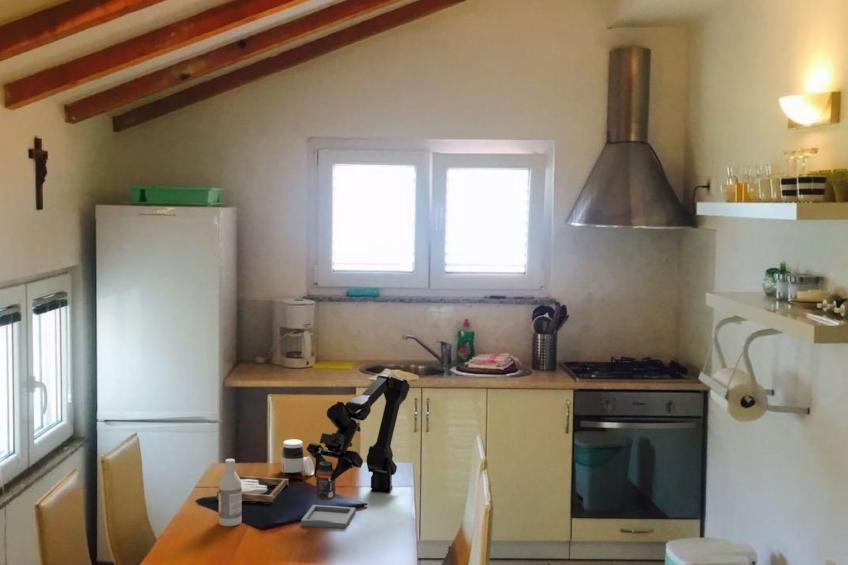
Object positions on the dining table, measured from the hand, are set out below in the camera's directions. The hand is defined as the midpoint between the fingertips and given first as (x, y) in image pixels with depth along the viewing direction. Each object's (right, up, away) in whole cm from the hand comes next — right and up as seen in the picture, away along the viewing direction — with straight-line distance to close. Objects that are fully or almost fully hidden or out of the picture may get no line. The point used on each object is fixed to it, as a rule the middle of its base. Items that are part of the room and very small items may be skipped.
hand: (323, 478), depth 288 cm
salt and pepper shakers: (-27, -11, +24) cm, 38 cm away
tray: (+2, -13, +2) cm, 13 cm away
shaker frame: (-26, -10, +25) cm, 38 cm away
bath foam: (-28, -13, -3) cm, 32 cm away
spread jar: (-14, -8, +46) cm, 49 cm away
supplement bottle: (+1, -7, +2) cm, 7 cm away
